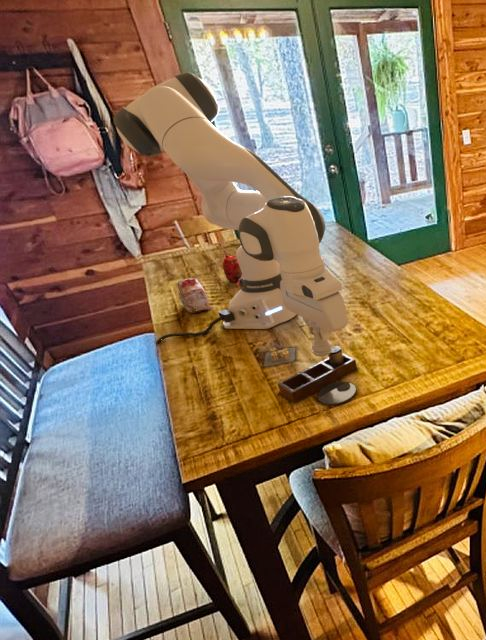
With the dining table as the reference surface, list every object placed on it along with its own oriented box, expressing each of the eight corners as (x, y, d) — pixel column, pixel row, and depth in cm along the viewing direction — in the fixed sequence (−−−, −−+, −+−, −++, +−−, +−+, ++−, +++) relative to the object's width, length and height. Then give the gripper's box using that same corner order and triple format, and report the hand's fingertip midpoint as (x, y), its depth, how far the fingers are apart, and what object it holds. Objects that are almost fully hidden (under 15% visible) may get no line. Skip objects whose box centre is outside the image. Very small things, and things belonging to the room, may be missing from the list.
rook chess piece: (314, 348, 114) (308, 316, 110) (334, 347, 114) (329, 315, 110) (310, 357, 110) (304, 325, 106) (330, 356, 110) (325, 324, 106)
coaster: (314, 406, 115) (314, 405, 114) (322, 385, 122) (322, 383, 122) (353, 403, 115) (352, 401, 115) (358, 382, 122) (358, 380, 122)
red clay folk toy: (237, 283, 184) (223, 244, 176) (222, 282, 186) (208, 243, 178) (251, 275, 190) (238, 237, 182) (236, 274, 192) (224, 236, 184)
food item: (214, 309, 165) (203, 282, 160) (188, 317, 161) (176, 289, 156) (205, 297, 174) (195, 271, 169) (180, 304, 170) (169, 277, 165)
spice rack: (295, 403, 116) (291, 392, 115) (280, 393, 120) (277, 383, 119) (357, 369, 128) (355, 359, 126) (342, 361, 131) (340, 351, 130)
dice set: (290, 359, 134) (288, 353, 133) (270, 362, 133) (268, 356, 132) (290, 350, 138) (289, 344, 137) (271, 353, 137) (269, 348, 136)
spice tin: (331, 375, 126) (325, 353, 123) (333, 367, 129) (328, 346, 125) (345, 373, 126) (339, 352, 123) (347, 366, 129) (342, 345, 126)
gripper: (266, 272, 107) (283, 328, 114) (319, 295, 95) (334, 356, 102) (293, 263, 111) (307, 318, 118) (346, 284, 99) (358, 343, 106)
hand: (320, 336), depth 110 cm, fingers closed on rook chess piece, 3 cm apart
